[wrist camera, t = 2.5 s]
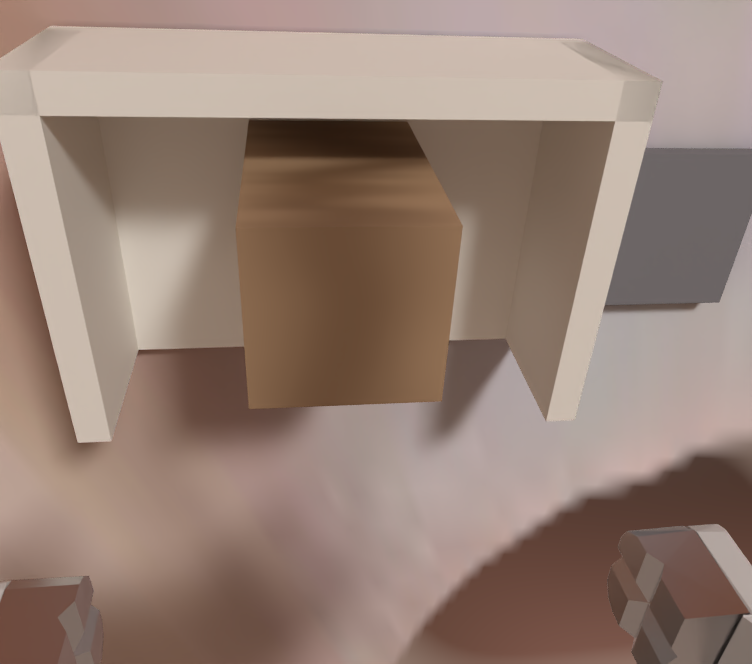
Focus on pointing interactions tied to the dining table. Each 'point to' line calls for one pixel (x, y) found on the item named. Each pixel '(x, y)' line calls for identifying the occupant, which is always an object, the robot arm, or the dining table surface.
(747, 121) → the dining table surface
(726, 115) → the dining table surface
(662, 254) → the coaster
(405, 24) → the dining table surface
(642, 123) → the box
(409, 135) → the block
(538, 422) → the dining table surface
